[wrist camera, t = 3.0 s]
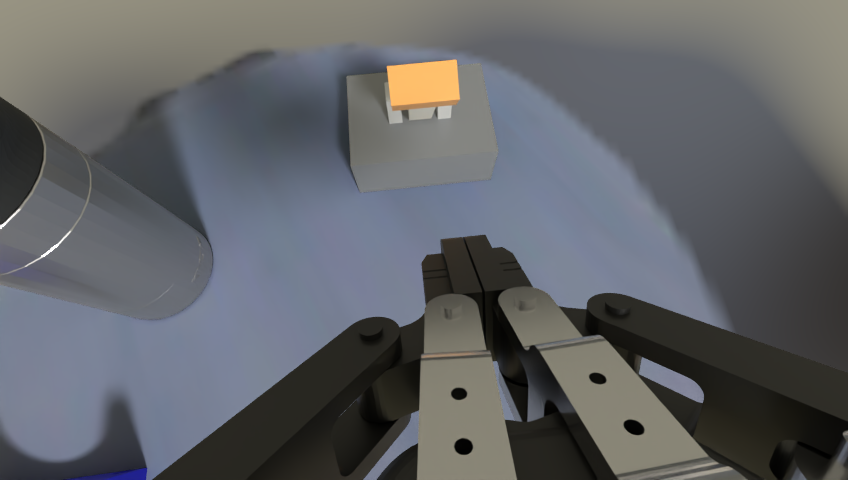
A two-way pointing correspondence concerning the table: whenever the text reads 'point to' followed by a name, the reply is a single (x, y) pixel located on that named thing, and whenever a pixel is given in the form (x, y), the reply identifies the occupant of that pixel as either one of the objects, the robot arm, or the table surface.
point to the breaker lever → (423, 87)
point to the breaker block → (419, 136)
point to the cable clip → (117, 475)
